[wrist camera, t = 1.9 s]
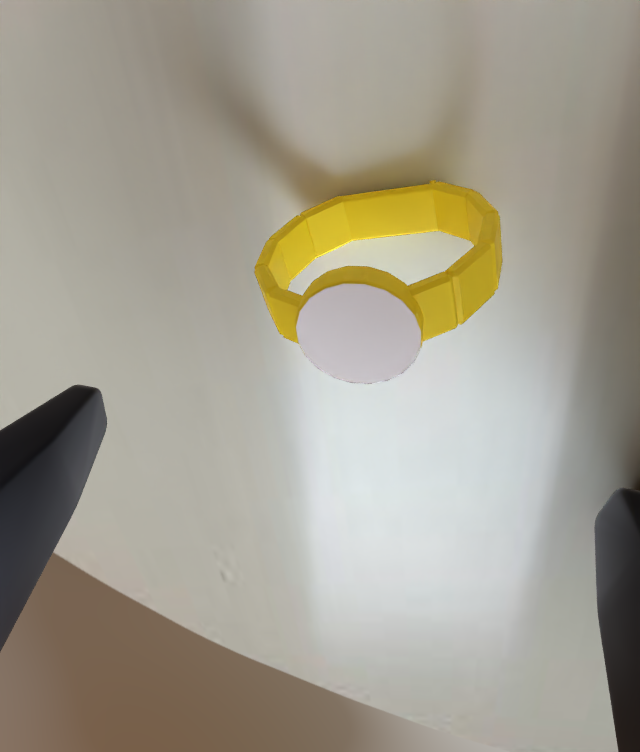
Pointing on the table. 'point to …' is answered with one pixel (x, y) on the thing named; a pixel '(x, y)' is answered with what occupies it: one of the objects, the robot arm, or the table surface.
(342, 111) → the table surface
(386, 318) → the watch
